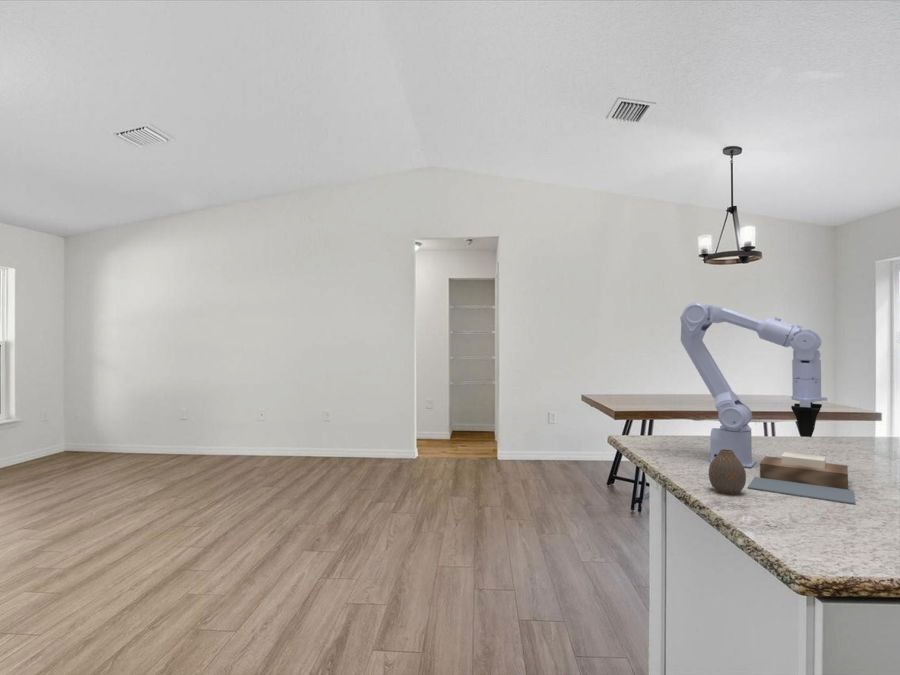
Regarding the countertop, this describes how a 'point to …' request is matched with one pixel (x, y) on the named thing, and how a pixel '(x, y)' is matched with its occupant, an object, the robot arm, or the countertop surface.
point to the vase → (727, 473)
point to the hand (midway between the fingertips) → (807, 434)
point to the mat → (803, 490)
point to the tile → (803, 460)
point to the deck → (805, 473)
